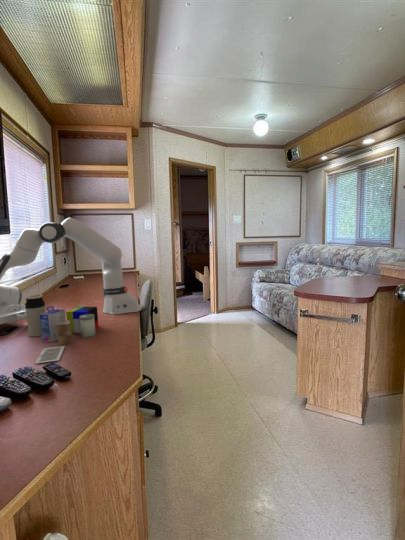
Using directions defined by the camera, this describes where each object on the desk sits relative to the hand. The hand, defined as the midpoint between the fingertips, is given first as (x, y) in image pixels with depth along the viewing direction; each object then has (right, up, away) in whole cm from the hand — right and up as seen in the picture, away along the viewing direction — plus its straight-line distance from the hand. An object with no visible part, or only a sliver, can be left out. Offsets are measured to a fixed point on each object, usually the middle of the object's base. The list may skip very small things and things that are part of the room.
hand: (26, 316), depth 150 cm
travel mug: (+8, -8, -4) cm, 12 cm away
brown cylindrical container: (+27, -8, -18) cm, 34 cm away
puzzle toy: (+28, -6, 0) cm, 28 cm away
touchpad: (+27, -11, -31) cm, 43 cm away
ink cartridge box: (+20, -8, -12) cm, 24 cm away
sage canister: (+33, -7, -9) cm, 35 cm away
